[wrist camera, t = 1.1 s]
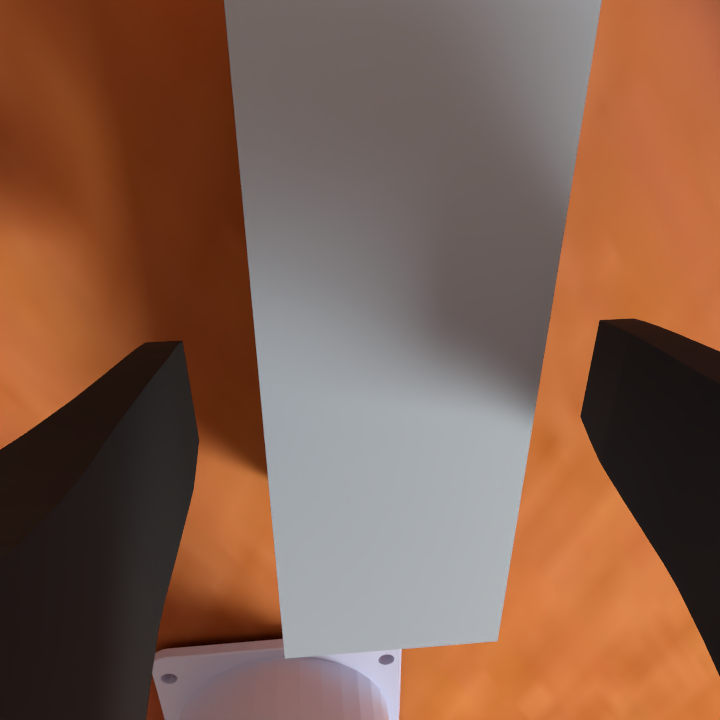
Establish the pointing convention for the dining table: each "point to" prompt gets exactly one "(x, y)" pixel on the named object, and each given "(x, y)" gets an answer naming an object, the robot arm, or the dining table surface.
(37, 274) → the dining table surface
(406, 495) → the rectangular block
